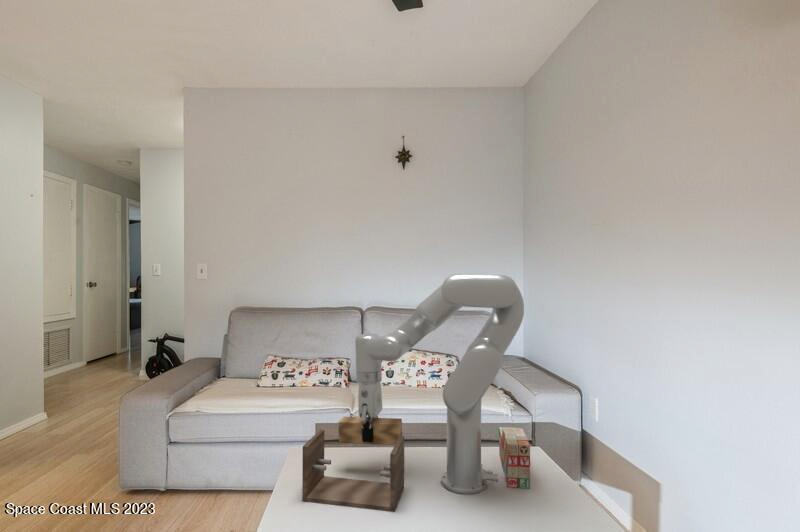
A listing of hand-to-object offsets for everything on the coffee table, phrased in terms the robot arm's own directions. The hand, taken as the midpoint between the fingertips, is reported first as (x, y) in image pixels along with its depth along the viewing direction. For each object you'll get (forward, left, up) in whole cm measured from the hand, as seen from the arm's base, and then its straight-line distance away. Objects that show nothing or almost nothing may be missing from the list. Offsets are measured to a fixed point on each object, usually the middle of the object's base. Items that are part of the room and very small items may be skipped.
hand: (370, 437), depth 127 cm
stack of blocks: (-41, -10, -11) cm, 44 cm away
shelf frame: (+1, +13, -10) cm, 17 cm away
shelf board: (0, 0, -1) cm, 1 cm away
